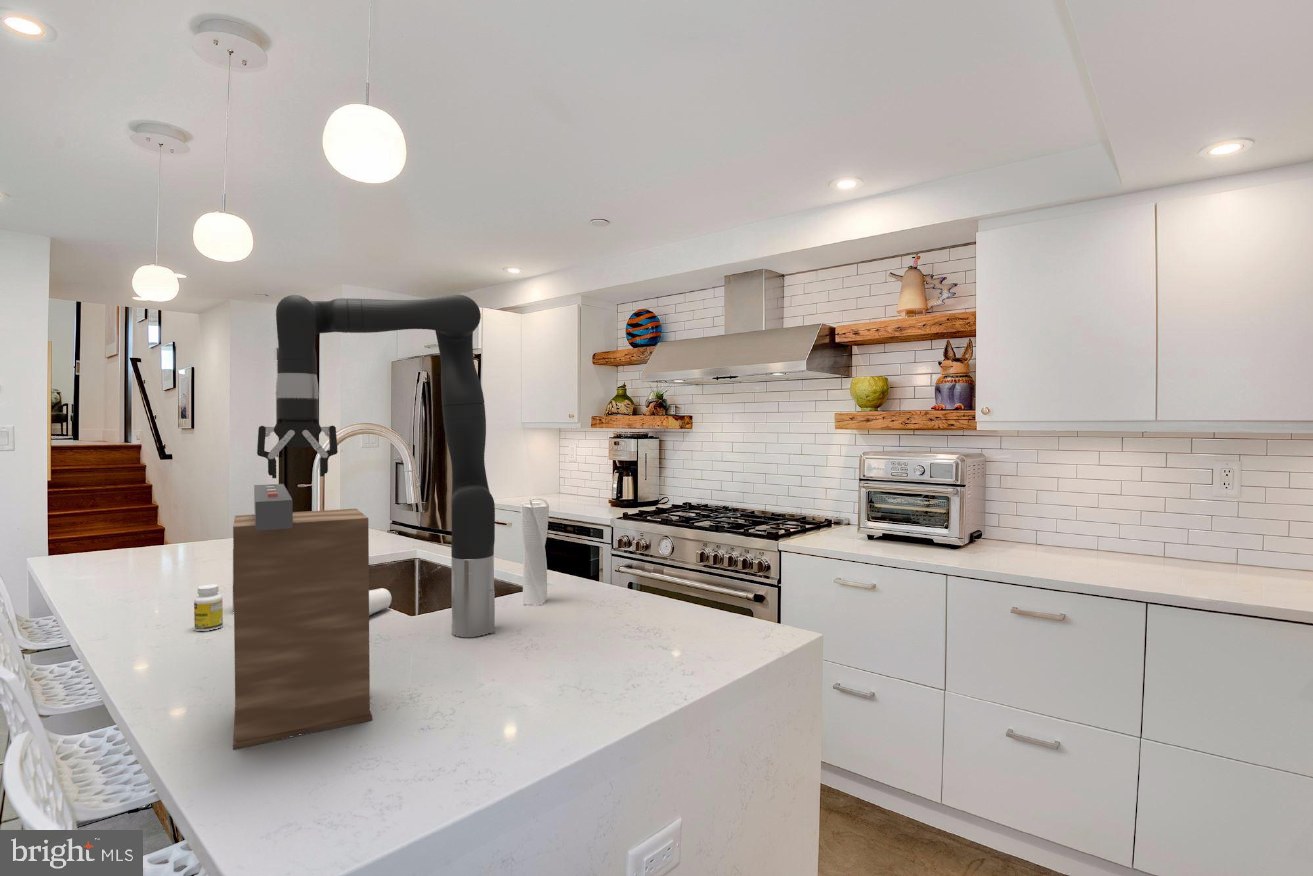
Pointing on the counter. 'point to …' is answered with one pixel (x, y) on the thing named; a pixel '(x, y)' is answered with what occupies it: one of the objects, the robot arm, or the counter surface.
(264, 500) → the power strip
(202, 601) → the supplement bottle
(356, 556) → the brown tall block
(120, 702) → the counter surface
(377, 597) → the drinking glass
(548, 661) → the counter surface
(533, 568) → the twisted white column
